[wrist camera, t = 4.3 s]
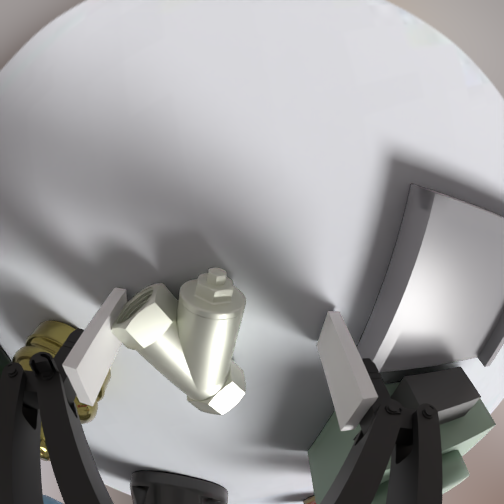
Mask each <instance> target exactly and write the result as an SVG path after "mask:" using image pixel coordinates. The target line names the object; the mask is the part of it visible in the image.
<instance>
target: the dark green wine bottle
mask: <svg viewBox="0 0 504 504" xmlns="http://www.w3.org/2000/svg"><path fill="white" fill-rule="evenodd" d="M9 363H11V361H10V359H9V358H8V357H7V355H6V354H5V352H4V351H3V350H2V349H1V347H0V378H1V374H2V371H3V369H4V367H5V366H6V365H7V364H9Z"/></svg>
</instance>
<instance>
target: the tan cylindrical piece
mask: <svg viewBox="0 0 504 504" xmlns="http://www.w3.org/2000/svg"><path fill="white" fill-rule="evenodd" d="M303 502H304V504H316V502H315V496H313V497H309V498H308V499H306V500H304V501H303Z"/></svg>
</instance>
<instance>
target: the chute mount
mask: <svg viewBox="0 0 504 504" xmlns="http://www.w3.org/2000/svg"><path fill="white" fill-rule="evenodd" d="M503 344H504V217H502V216H500V215H498V214H495V213H493V212H491V211H488V210H486V209H483V208H481V207H478V206H476V205H473V204H470V203H468V202H465V201H462V200H459V199H457V198H454V197H451V196H448V195H445V194H442V193H439V192H436V191H433V190H430V189H427V188H424V187H420V186H417V185H414V184H411V187H410V191H409V196H408V200H407V204H406V208H405V212H404V216H403V220H402V224H401V227H400V231H399V235H398V238H397V241H396V245H395V248H394V251H393V255H392V258H391V261H390V264H389V267H388V270H387V273H386V276H385V279H384V282H383V284H382V287H381V290H380V293H379V295H378V298H377V301H376V303H375V306H374V308H373V311H372V313H371V316H370V318H369V321H368V323H367V325H366V328H365V330H364V333H363V335H362V337H361V339H360V342H359V344H358V346H357V350H358V352H359V354H360V356H361V358H370V359H371V360H372V361H373V362H374V363H375V364H376V367H377V369H378V371H379V372H388V371H398V370H407V369H415V368H422V367H429V366H435V365H441V364H447V363H453V362H458V361H463V360H468V359H472V358H477V357H478V359H479V360H480V361H481V363H482V364H483V365H484V367H486V366H489V365H490V364H491V363H492V361H493V360H494V358H495V357H496V355H497V354H498V352H499V350H500V349H501V347H502V345H503Z"/></svg>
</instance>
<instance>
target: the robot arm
mask: <svg viewBox="0 0 504 504" xmlns="http://www.w3.org/2000/svg"><path fill="white" fill-rule="evenodd" d="M127 302H128V300H127V292H126V289H122V288H116V287H115V288H114V289H113V291H112V292H111V293H110V295H109V296H108V297H107V299H106V300H105V301H104V303H103V304H102V306H101V307H100V308H99V310H98V311H97V313H96V314H95V315H94V317H93V318H92V320H91V321H90V323H89V324H88V326H87V327H86V329H85V330H83V329H79V328H77V329H76V330H74V331H73V332H72V333H70V335H69V336H68V338H67V339H66V341H65V342H64V343H63V346H61V348H60V349H59V351H58V352H57V354H56V355H55V357H54V358H53V357H52V355H51V354H50V353H47V352H38V353H36V354H34V355H33V356H32V357H31V359H30V361H29V365H30V367H31V369H32V371H28V370H24V369H23V368H22V366H21V365H20V364H19V363H17V362H11V363H9V364H7V365H6V366H5V367H4V369H3V371H2V374H1V378H0V504H63V503H61V502H59V501H57V500H55V499H53V498H51V497H49V496H46V495H42V484H41V468H40V466H41V465H40V435H41V422H42V427H43V432H44V437H45V441H46V446H47V450H48V454H49V457H50V461H51V464H52V468H53V471H54V474H55V477H56V480H57V483H58V486H59V489H60V492H61V495H62V497H63V500H64V502H65V504H114V503H113V502H112V500H111V498H110V496H109V493H108V491H107V489H106V487H105V485H104V483H103V481H102V478H101V476H100V474H99V471H98V469H97V467H96V464H95V462H94V459H93V457H92V454H91V451H90V449H89V446H88V443H87V440H86V437H85V434H84V431H83V428H82V425H81V422H80V418H79V415H78V411H77V408H76V404H75V402H74V399H75V397H76V395H77V397H78V399H79V401H80V402H81V403H84V404H87V405H90V406H93V405H94V403H95V400H96V398H97V396H98V394H99V391H100V389H101V387H102V385H103V382H104V380H105V378H106V376H107V374H108V372H109V369H110V367H111V365H112V363H113V361H114V359H115V357H116V355H117V353H118V351H119V349H120V347H121V345H122V342H121V341H120V340H119V339H118V338H117V337H116V336H115V335H114V334H113V333H112V332H111V328H112V325H113V323H114V322H115V320H116V319H117V317H118V316H119V314H120V312H121V310H122V308H123V307H124V305H125V304H126V303H127ZM316 346H317V349H318V353H319V356H320V359H321V363H322V366H323V370H324V373H325V376H326V380H327V383H328V387H329V390H330V394H331V397H332V401H333V405H334V408H335V412H336V415H337V419H338V423H339V427H340V430H341V431H346V430H354V429H355V428H356V427H357V426H358V424H360V427H361V430H360V432H359V433H358V434H357V435H356V436H355V438H354V439H353V440H354V441H355V442H354V444H353V446H352V448H351V450H350V452H349V454H348V456H347V458H346V460H345V462H344V464H343V465H342V467H341V469H340V471H339V473H338V475H337V476H336V478H335V480H334V482H333V483H332V485H331V487H330V488H329V490H328V492H327V493H326V495H325V497H324V498H323V500H322V501H321V503H320V504H371V503H372V501H373V499H374V497H375V494H376V492H377V490H378V487H379V485H380V483H381V480H382V478H383V475H384V473H385V470H386V468H387V465H388V462H389V460H390V457H391V466H390V476H389V484H388V492H387V499H386V504H442V485H443V475H442V448H441V435H440V425H439V416H438V412H437V410H436V408H435V407H434V406H432V405H431V404H427V403H423V404H421V405H420V406H419V407H418V408H417V409H409V408H403V406H402V405H401V404H400V403H399V402H398V401H396V400H394V399H391V397H390V394H389V392H388V390H387V388H386V386H385V384H384V381H383V379H381V378H382V377H381V375H380V373H379V371H378V369H377V367H376V364H375V363H374V362H373V361H372V360H371V359H370V358H361V356H360V354H359V352H358V350H357V347H356V345H355V343H354V341H353V339H352V337H351V334H350V332H349V330H348V328H347V326H346V324H345V322H344V320H343V317H342V315H341V313H340V312H339V311H328V313H327V316H326V319H325V322H324V325H323V328H322V330H321V333H320V336H319V339H318V342H317V345H316ZM130 489H131V495H132V500H133V504H227V503H228V491H227V490H226V489H225V488H223V487H221V486H219V485H216V484H214V483H210V482H207V481H203V480H199V479H195V478H191V477H186V476H181V475H175V474H169V473H162V472H153V471H138V472H134V473H133V474H132V478H131V482H130Z"/></svg>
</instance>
